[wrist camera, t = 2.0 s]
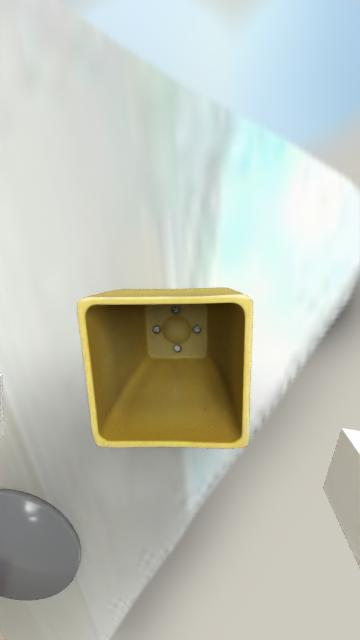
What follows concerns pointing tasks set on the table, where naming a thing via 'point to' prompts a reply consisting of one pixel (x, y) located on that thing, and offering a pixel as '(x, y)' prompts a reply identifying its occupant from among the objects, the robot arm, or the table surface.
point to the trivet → (35, 547)
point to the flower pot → (168, 367)
